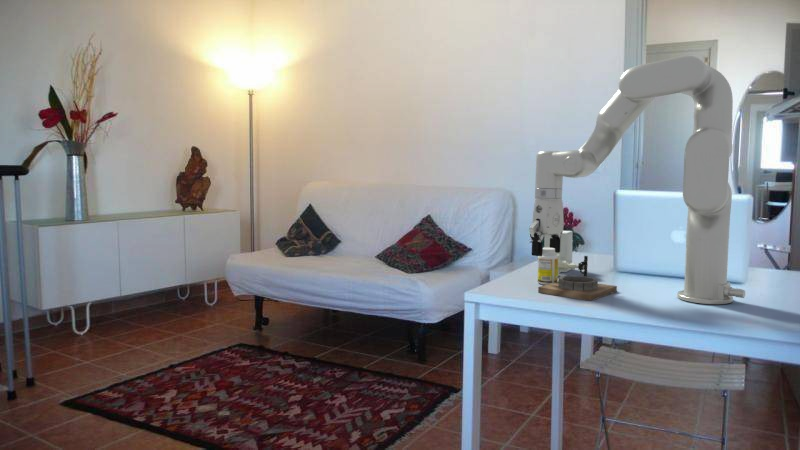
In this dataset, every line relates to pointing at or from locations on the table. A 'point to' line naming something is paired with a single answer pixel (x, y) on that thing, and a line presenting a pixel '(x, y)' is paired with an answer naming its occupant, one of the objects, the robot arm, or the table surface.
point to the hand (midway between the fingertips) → (545, 253)
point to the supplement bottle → (548, 267)
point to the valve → (573, 265)
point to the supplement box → (562, 247)
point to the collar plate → (578, 293)
